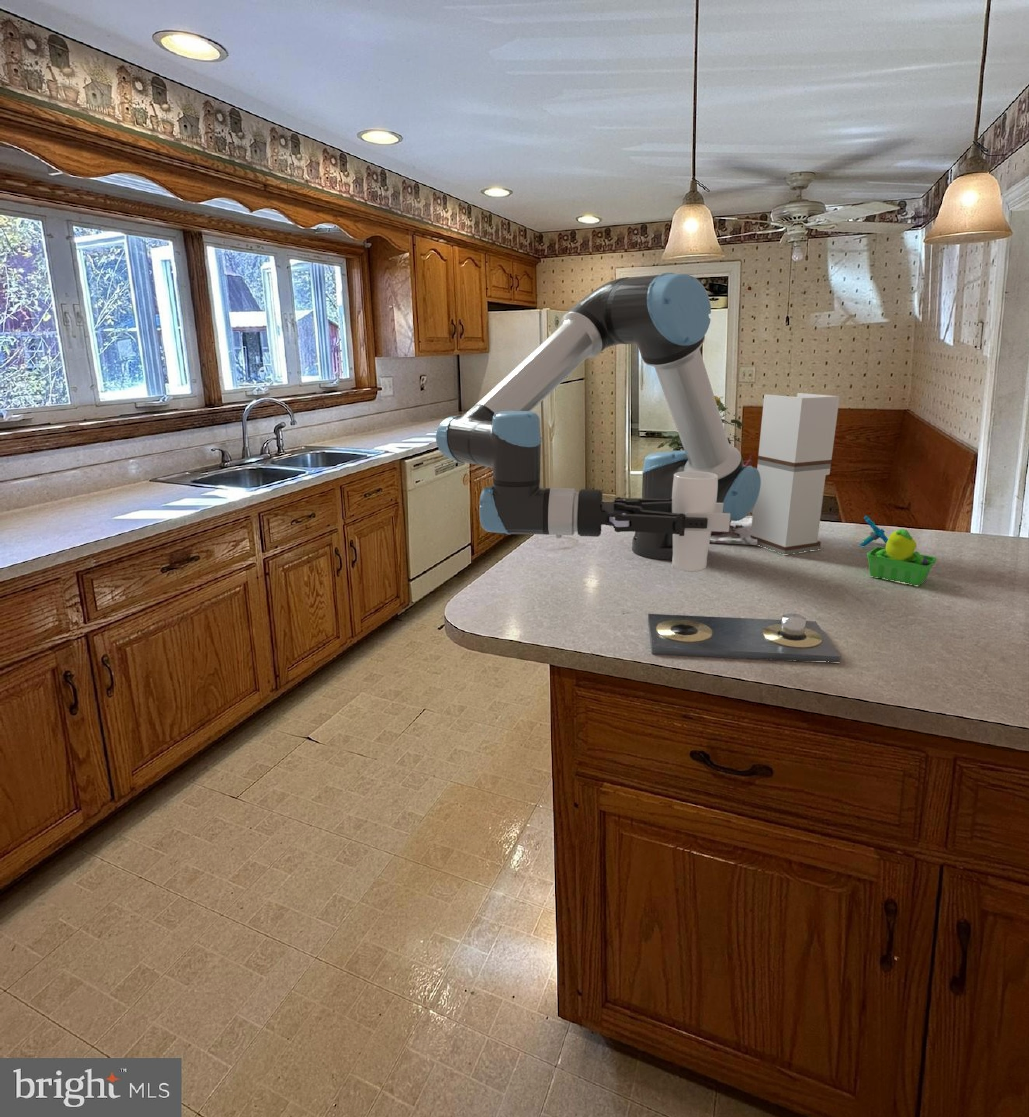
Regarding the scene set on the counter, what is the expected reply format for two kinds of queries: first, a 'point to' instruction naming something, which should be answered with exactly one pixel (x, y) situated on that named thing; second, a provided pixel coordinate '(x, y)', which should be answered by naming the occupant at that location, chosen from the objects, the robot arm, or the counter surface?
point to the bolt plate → (740, 638)
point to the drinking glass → (693, 496)
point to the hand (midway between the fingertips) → (725, 516)
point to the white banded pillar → (793, 470)
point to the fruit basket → (900, 560)
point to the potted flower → (745, 524)
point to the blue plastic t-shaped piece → (873, 533)
